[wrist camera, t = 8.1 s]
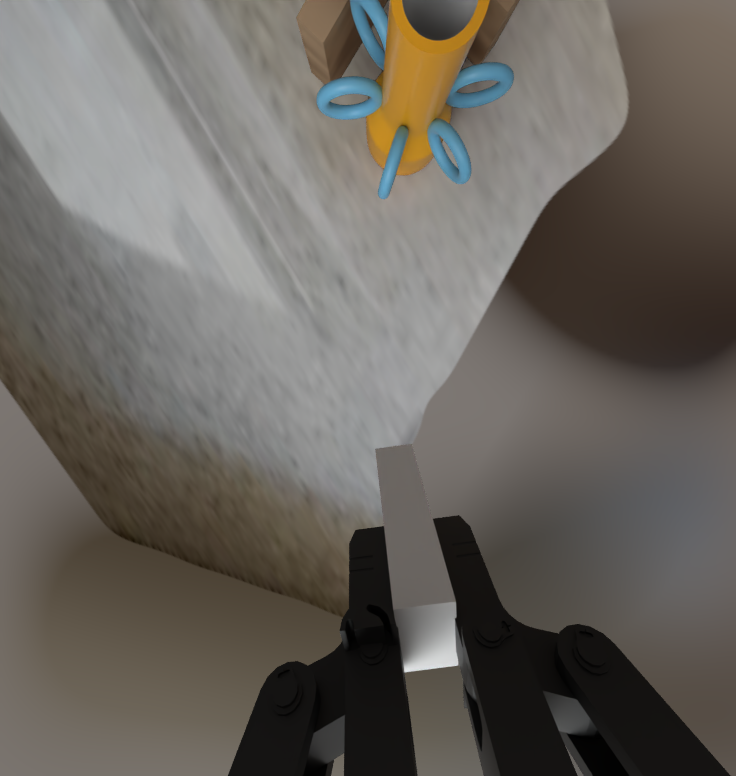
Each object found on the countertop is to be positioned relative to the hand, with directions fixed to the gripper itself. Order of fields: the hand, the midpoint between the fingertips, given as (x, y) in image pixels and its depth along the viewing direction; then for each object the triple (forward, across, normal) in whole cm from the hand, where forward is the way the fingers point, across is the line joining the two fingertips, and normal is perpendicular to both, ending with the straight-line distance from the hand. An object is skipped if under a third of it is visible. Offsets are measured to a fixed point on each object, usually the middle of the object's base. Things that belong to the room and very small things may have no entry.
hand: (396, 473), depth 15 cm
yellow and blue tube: (+23, +5, +16) cm, 28 cm away
